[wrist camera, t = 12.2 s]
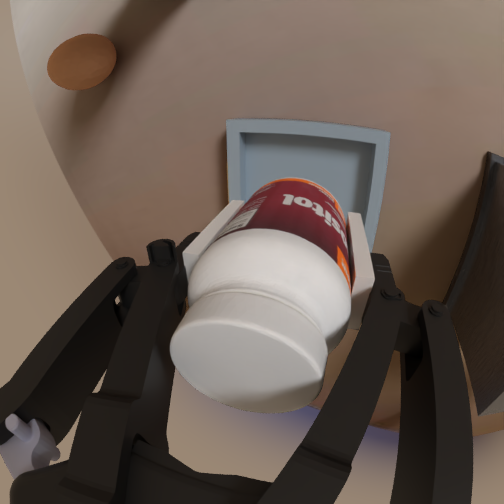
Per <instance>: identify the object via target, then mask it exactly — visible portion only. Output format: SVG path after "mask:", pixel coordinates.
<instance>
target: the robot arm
mask: <svg viewBox="0 0 504 504" xmlns="http://www.w3.org/2000/svg"><path fill="white" fill-rule="evenodd" d="M244 204H245V203H244V201H242V200H232V201H231V202H230V203H229V204H228V205H227V206H226V207H225V208H224V209H223V210H222V211H221V212H220V213H219V214H218V215H217V216H216V217H215V218H214V219H213V220H212V221H211V223H210V224H209V225H208V226H207V227H206V228H205V229H204V230H203V231H202V232H194V233H192V234H190V235H188V236H187V237H186V238H185V239H184V240H183V241H182V242H181V243H180V244H179V245H178V246H177V247H176V246H175V242H174V241H173V240H170V239H160V240H156V241H153V242H151V243H150V244H148V245H147V252H148V256H149V261H150V264H149V266H136V264H135V260H134V259H133V258H130V257H121V258H118V259H117V260H115V261H113V262H112V263H111V264H110V265H109V266H108V267H107V268H106V269H105V270H104V271H103V272H102V273H101V274H100V275H99V276H98V277H97V278H96V279H95V280H94V281H93V282H92V283H91V284H90V285H89V286H88V287H87V288H86V289H85V290H84V291H83V292H82V294H81V295H80V296H79V297H78V298H77V299H76V300H75V301H74V302H73V303H72V304H71V305H70V307H69V308H68V309H67V310H66V311H65V312H64V313H63V314H62V315H61V317H60V318H59V319H58V320H57V321H56V322H55V324H54V325H53V326H52V327H51V328H50V330H49V331H48V332H47V333H46V334H45V335H44V337H43V338H42V339H41V341H40V342H39V343H38V344H37V345H36V347H35V348H34V349H33V350H32V352H31V353H30V354H29V355H28V357H27V358H26V359H25V361H24V362H23V363H22V365H21V366H20V367H19V369H18V370H17V371H16V373H15V374H14V376H13V377H12V378H11V380H10V381H9V382H8V383H6V384H5V385H4V386H3V387H1V388H0V454H1V456H2V458H3V460H4V462H5V464H6V466H7V467H8V469H9V471H10V473H11V475H12V477H13V478H14V481H13V483H12V486H11V489H10V504H334V502H335V500H336V499H337V497H338V495H339V494H340V492H341V490H342V488H343V486H344V485H345V483H346V481H347V479H348V477H349V474H350V472H351V469H352V467H351V463H352V460H353V458H354V456H355V454H356V452H357V450H358V448H359V445H360V443H361V441H362V439H363V436H364V434H365V432H366V429H367V427H368V424H369V422H370V420H371V417H372V414H373V412H374V409H375V407H376V404H377V401H378V398H379V395H380V393H381V390H382V387H383V384H384V381H385V377H386V374H387V371H388V368H389V364H390V361H391V357H392V354H393V350H397V351H399V352H400V364H401V414H400V432H399V445H398V455H397V463H396V471H395V478H394V485H393V490H392V495H391V501H390V504H471V496H472V483H473V436H472V422H471V412H470V403H469V396H468V389H467V383H466V377H465V372H464V367H463V362H462V358H461V353H460V349H459V345H458V341H457V337H456V333H455V329H454V326H453V322H452V319H451V315H450V312H449V310H448V309H447V307H446V306H445V305H444V304H442V303H440V302H438V301H435V300H427V301H425V302H424V303H423V304H422V307H419V306H416V305H413V304H411V303H409V302H407V301H405V296H404V294H403V293H402V291H400V290H399V289H398V288H396V285H395V282H394V278H393V274H392V273H391V272H392V271H391V268H390V264H389V261H388V259H387V258H386V257H385V256H384V255H383V254H376V253H370V252H369V247H368V243H367V238H366V234H365V230H364V226H363V222H362V218H361V214H360V213H353V212H348V215H347V221H346V232H347V243H348V251H349V269H350V286H351V315H350V321H349V325H348V328H347V329H356V330H359V327H360V324H361V322H362V325H361V327H360V330H359V332H358V335H357V337H356V339H355V342H354V344H353V346H352V349H351V351H350V353H349V355H348V357H347V360H346V362H345V364H344V366H343V368H342V370H341V372H340V374H339V376H338V378H337V380H336V382H335V384H334V386H333V388H332V390H331V392H330V394H329V396H328V398H327V400H326V401H325V403H324V405H323V407H322V409H321V411H320V413H319V414H318V416H317V418H316V420H315V421H314V423H313V425H312V426H311V428H310V430H309V431H308V433H307V435H306V436H305V438H304V439H303V441H302V443H301V444H300V445H299V446H298V448H297V449H296V451H295V452H294V454H293V455H292V457H291V458H290V459H289V461H288V462H287V464H286V465H285V467H284V468H283V470H282V471H281V472H280V474H279V475H278V477H277V478H276V479H275V481H274V482H273V483H271V482H266V481H260V480H256V479H251V478H247V477H242V476H238V475H223V474H222V475H221V474H209V473H199V472H196V471H194V470H192V469H191V468H189V467H188V466H186V465H184V464H183V463H182V462H180V461H179V460H177V459H176V458H174V457H173V456H171V455H170V454H169V447H168V441H167V435H166V430H167V422H168V413H169V406H170V398H171V391H172V386H173V378H174V372H175V365H174V363H173V361H172V358H171V355H170V342H171V339H172V336H173V334H174V332H175V330H176V329H177V327H178V325H179V324H180V322H181V321H182V319H183V317H184V316H185V310H186V301H185V298H186V297H187V295H188V284H189V279H190V276H191V273H192V270H193V268H194V266H195V265H196V263H197V261H198V260H199V258H200V257H201V256H202V255H203V253H204V252H205V250H206V249H207V248H208V247H209V246H210V245H211V243H212V242H213V241H214V240H215V238H216V237H217V236H218V235H219V234H220V233H221V231H222V230H223V229H224V228H225V227H226V226H227V224H228V223H229V222H230V221H231V219H232V218H233V217H234V216H235V215H236V214H237V213H238V212H239V210H240V209H241V208H242V207H243V206H244ZM117 296H118V297H119V299H120V302H119V303H118V304H116V302H115V299H116V297H117ZM106 369H107V371H106ZM105 371H106V374H105V377H104V380H103V383H102V386H101V389H100V391H99V392H98V393H92V392H93V390H94V389H95V387H96V385H97V384H98V382H99V381H100V379H101V377H102V376H103V374H104V372H105ZM81 411H82V412H81ZM80 412H81V416H80V419H79V422H78V426H77V429H76V433H75V437H74V441H73V444H72V449H71V453H70V457H69V460H66V461H63V462H60V463H57V464H53V465H50V466H49V463H50V460H53V461H57V460H58V459H59V458H60V451H59V449H58V448H57V447H56V446H57V445H58V444H59V443H60V442H61V441H62V440H63V438H64V437H65V436H66V435H67V433H68V432H69V431H70V429H71V428H72V426H73V424H74V423H75V421H76V419H77V418H78V416H79V414H80Z"/></svg>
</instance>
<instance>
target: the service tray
mask: <svg viewBox="0 0 504 504" xmlns="http://www.w3.org/2000/svg"><path fill="white" fill-rule="evenodd" d="M226 128H227V186H228V204H229V203H230V202H231V201H232V200H242V201H244V203H246V202H247V201H248V200H249V199H250V197H251V196H252V195H253V194H254V193H255V192H256V191H257V190H259V189H260V188H261V187H262V186H264V185H265V184H267V183H269V182H271V181H274V180H276V179H280V178H286V177H297V178H303V179H307V180H310V181H313V182H315V183H317V184H319V185H321V186H322V187H324V188H325V189H327V190H328V191H329V192H330V193H331V194H332V195H333V196H334V197H335V199H336V200H337V201H338V203H339V205H340V207H341V209H342V211H343V214H344V218H345V222H346V221H347V215H348V212H353V213H360V214H361V218H362V222H363V226H364V230H365V234H366V238H367V243H368V247H369V252H370V253H371V252H372V248H373V244H374V239H375V234H376V229H377V224H378V219H379V214H380V209H381V203H382V197H383V191H384V184H385V177H386V170H387V162H388V153H389V144H390V132H387V131H385V130H380V129H374V128H368V127H362V126H355V125H347V124H339V123H330V122H320V121H309V120H294V119H270V118H235V119H228V120H226Z"/></svg>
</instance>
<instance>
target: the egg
mask: <svg viewBox="0 0 504 504" xmlns="http://www.w3.org/2000/svg"><path fill="white" fill-rule="evenodd" d="M115 63H116V50H115V47H114V45H113V43H112V42H111V41H110V40H109V39H107V38H106V37H104V36H102V35H98V34H81V35H78V36H75V37H73V38H71V39H69V40H66V41H65V42H63V43H62V44H60V45H59V46H58V47H57V48H56V49H55V50H54V51H53V53H52V54H51V56H50V58H49V61H48V65H47V71H48V75H49V77H50V78H51V80H52V81H53V82H54V83H55V84H57V85H58V86H61V87H63V88H65V89H68V90H84V89H89V88H91V87H94V86H96V85H98V84H99V83H101V82H102V81H103V80H104V79H106V78H107V77H108V76H109V74H110V73H111V72H112V70H113V68H114V66H115Z"/></svg>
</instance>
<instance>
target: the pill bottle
mask: <svg viewBox="0 0 504 504" xmlns="http://www.w3.org/2000/svg"><path fill="white" fill-rule="evenodd" d="M188 304H189V309H188V311H187V312H186V314H185V316H184V317H183V319H182V321H181V322H180V324H179V325H178V327H177V329H176V330H175V332H174V334H173V336H172V339H171V342H170V355H171V358H172V361H173V363H174V365H175V367H176V369H177V370H178V371H179V373H180V374H181V375H182V376H183V378H185V380H186V381H187V382H188V383H189V384H190V385H192V386H193V387H194V388H195V389H197V390H198V391H200V392H201V393H203V394H204V395H206V396H208V397H210V398H211V399H213V400H215V401H218V402H220V403H222V404H225V405H228V406H231V407H234V408H237V409H241V410H245V411H250V412H259V413H283V412H289V411H293V410H297V409H300V408H302V407H304V406H306V405H308V404H310V403H311V402H312V401H314V400H315V399H316V398H317V396H318V395H319V393H320V391H321V389H322V386H323V380H324V374H325V368H326V363H327V358H328V354H330V353H331V352H332V351H333V350H334V349H335V348H336V347H337V346H338V344H339V343H340V341H341V340H342V338H343V337H344V335H345V333H346V330H347V328H348V325H349V321H350V315H351V286H350V269H349V251H348V243H347V232H346V222H345V218H344V214H343V211H342V209H341V207H340V205H339V203H338V201H337V200H336V199H335V197H334V196H333V195H332V194H331V193H330V192H329V191H328V190H327V189H325V188H324V187H322V186H321V185H319V184H317V183H315V182H313V181H310V180H307V179H303V178H297V177H286V178H280V179H276V180H274V181H271V182H269V183H267V184H265V185H264V186H262V187H261V188H260V189H259V190H257V191H256V192H255V193H254V194H253V195H252V196H251V197H250V199H249V200H248V201H247V202H246V203H245V204H244V206H243V207H242V208H241V209H240V210H239V212H238V213H237V214H236V215H235V216H234V217H233V218H232V219H231V221H230V222H229V223H228V224H227V226H226V227H225V228H224V229H223V230H222V231H221V233H220V234H219V235H218V236H217V237H216V238H215V240H214V241H213V242H212V243H211V245H210V246H209V247H208V248H207V249H206V250H205V252H204V253H203V255H202V256H201V257H200V258H199V260H198V261H197V263H196V265H195V266H194V268H193V270H192V273H191V276H190V279H189V284H188Z"/></svg>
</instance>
